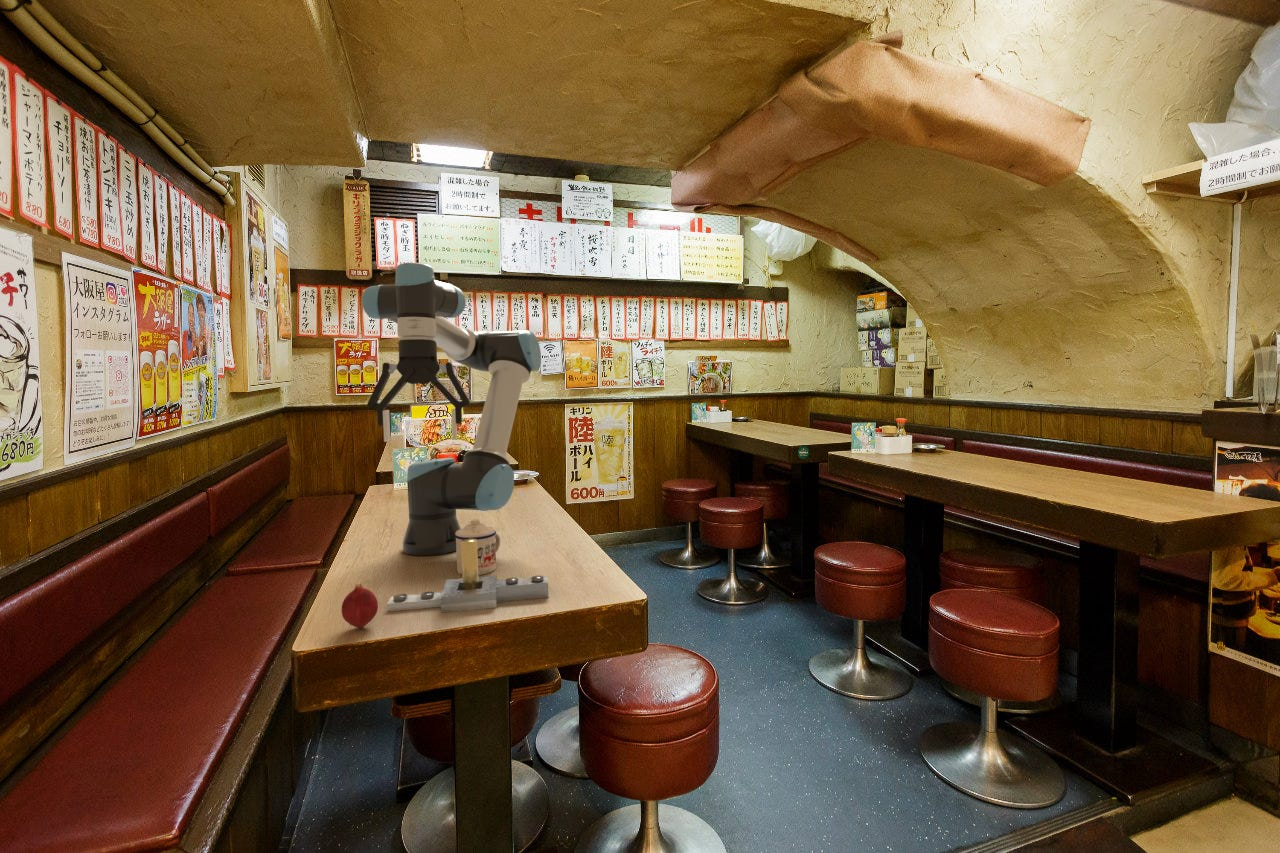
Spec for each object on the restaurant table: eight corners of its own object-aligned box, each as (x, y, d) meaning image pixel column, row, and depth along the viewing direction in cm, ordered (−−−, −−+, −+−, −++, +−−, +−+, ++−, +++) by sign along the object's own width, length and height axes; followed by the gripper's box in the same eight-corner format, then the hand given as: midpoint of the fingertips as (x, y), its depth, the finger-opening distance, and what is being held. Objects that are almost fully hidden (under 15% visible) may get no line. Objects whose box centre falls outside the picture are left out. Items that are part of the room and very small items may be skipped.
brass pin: (464, 598, 118) (461, 539, 117) (479, 597, 119) (477, 538, 118) (462, 604, 115) (460, 543, 114) (478, 602, 116) (476, 542, 115)
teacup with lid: (476, 578, 130) (474, 526, 129) (447, 572, 135) (445, 522, 134) (514, 564, 140) (512, 515, 139) (486, 558, 145) (484, 511, 144)
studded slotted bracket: (394, 598, 119) (393, 580, 118) (546, 585, 125) (546, 569, 125) (384, 617, 109) (383, 598, 108) (549, 602, 115) (548, 584, 115)
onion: (384, 627, 104) (382, 582, 104) (351, 638, 100) (348, 591, 100) (370, 618, 108) (368, 576, 108) (337, 628, 104) (334, 584, 103)
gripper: (348, 337, 118) (353, 443, 120) (477, 338, 124) (481, 439, 125) (357, 340, 126) (362, 440, 127) (479, 340, 131) (483, 436, 132)
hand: (421, 440), depth 126 cm, fingers open, 13 cm apart
